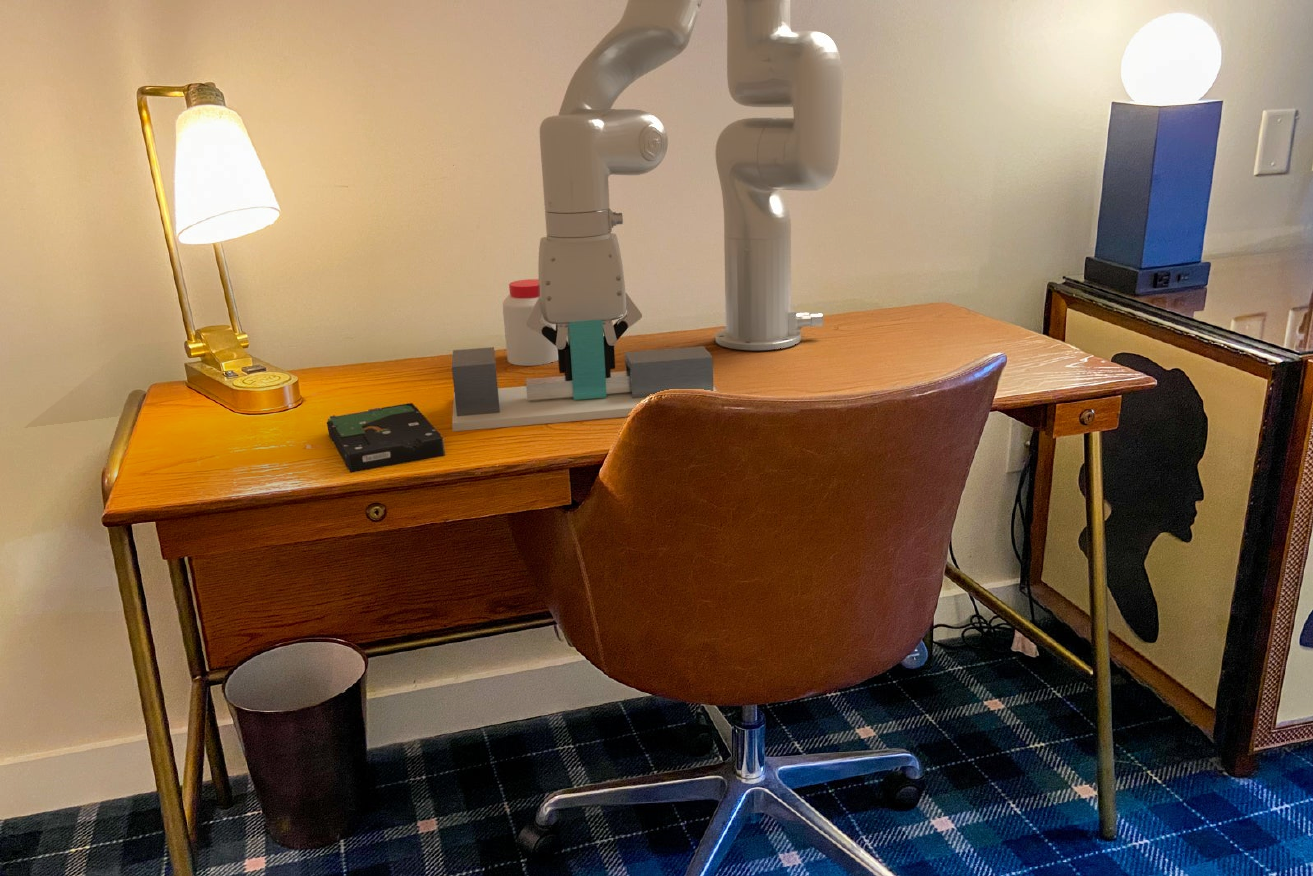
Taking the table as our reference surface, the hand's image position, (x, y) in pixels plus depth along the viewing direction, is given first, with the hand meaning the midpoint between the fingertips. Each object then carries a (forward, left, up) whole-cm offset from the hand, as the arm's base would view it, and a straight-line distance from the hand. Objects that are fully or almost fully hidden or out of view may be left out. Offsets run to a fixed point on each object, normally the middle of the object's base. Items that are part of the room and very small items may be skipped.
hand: (587, 375), depth 130 cm
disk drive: (+24, +9, -4) cm, 26 cm away
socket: (+13, 0, -3) cm, 14 cm away
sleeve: (-10, 0, -4) cm, 11 cm away
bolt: (-3, 0, -2) cm, 4 cm away
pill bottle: (+5, -24, -4) cm, 25 cm away
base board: (0, 0, -4) cm, 4 cm away
